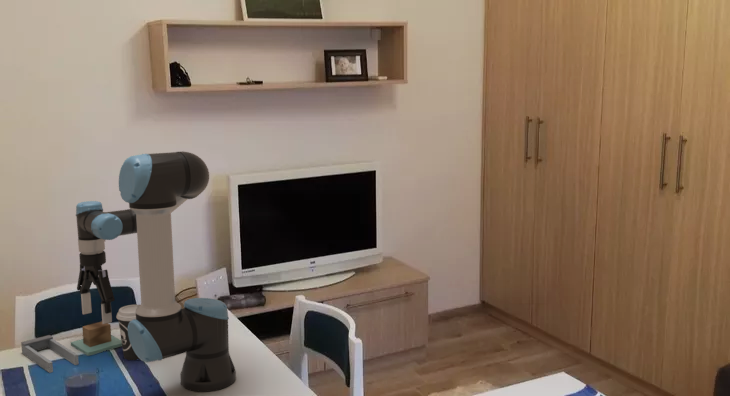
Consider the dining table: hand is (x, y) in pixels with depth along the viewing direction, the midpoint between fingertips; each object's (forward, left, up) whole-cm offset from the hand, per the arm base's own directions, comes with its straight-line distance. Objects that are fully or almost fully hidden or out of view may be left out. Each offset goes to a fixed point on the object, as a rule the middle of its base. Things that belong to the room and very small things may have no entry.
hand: (96, 318), depth 219 cm
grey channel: (0, +15, -9) cm, 17 cm away
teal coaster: (0, 0, -9) cm, 9 cm away
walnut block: (+1, 0, -8) cm, 8 cm away
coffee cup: (-16, -4, -9) cm, 18 cm away
